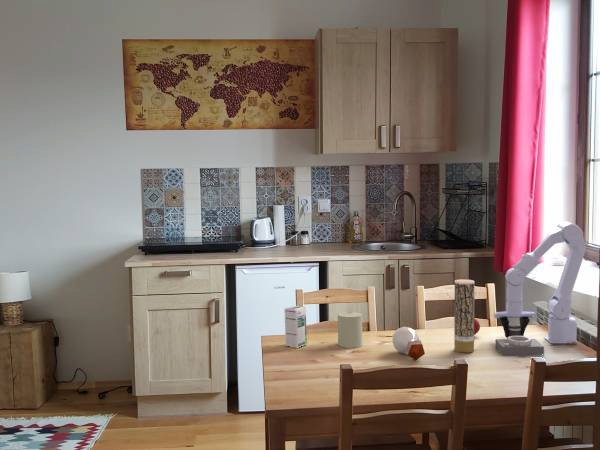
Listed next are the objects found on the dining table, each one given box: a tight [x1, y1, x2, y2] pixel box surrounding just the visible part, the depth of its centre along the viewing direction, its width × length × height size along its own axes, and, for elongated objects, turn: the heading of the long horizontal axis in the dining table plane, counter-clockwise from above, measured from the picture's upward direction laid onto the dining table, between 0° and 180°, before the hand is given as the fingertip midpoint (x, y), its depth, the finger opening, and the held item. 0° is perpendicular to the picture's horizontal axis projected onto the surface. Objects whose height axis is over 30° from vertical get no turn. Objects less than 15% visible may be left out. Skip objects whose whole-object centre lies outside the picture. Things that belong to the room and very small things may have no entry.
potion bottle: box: [391, 326, 426, 361], centre depth 242 cm, size 9×10×15 cm
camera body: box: [495, 335, 545, 356], centre depth 244 cm, size 14×10×4 cm
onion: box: [474, 317, 481, 336], centre depth 265 cm, size 6×6×8 cm
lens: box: [508, 324, 521, 337], centre depth 258 cm, size 5×5×6 cm
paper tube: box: [453, 278, 476, 354], centre depth 245 cm, size 7×7×25 cm
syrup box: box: [284, 305, 308, 349], centre depth 256 cm, size 6×6×14 cm
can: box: [337, 311, 363, 349], centre depth 256 cm, size 9×9×12 cm
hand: (514, 336), depth 258 cm, fingers open, 5 cm apart
